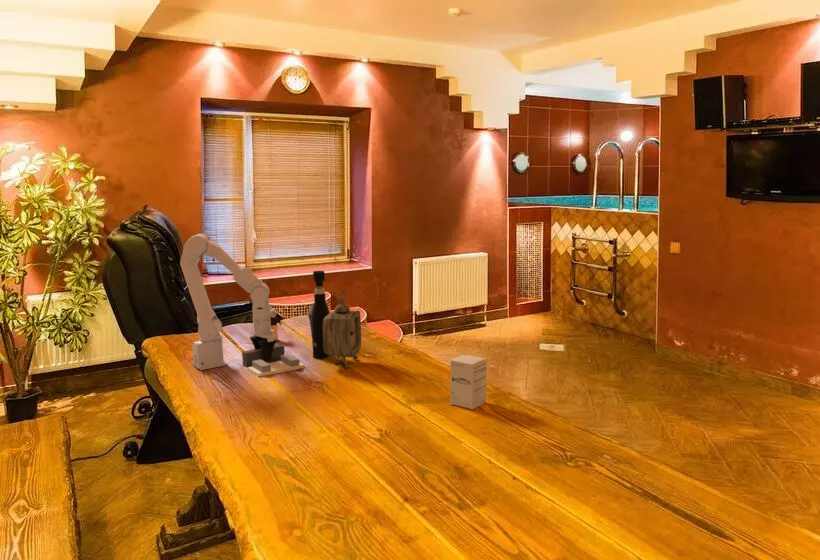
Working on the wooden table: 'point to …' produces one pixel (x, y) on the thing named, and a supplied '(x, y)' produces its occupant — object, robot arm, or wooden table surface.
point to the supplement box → (468, 381)
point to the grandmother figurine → (274, 323)
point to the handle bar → (261, 355)
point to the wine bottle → (318, 316)
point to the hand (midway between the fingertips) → (263, 358)
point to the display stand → (275, 366)
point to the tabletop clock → (342, 332)
